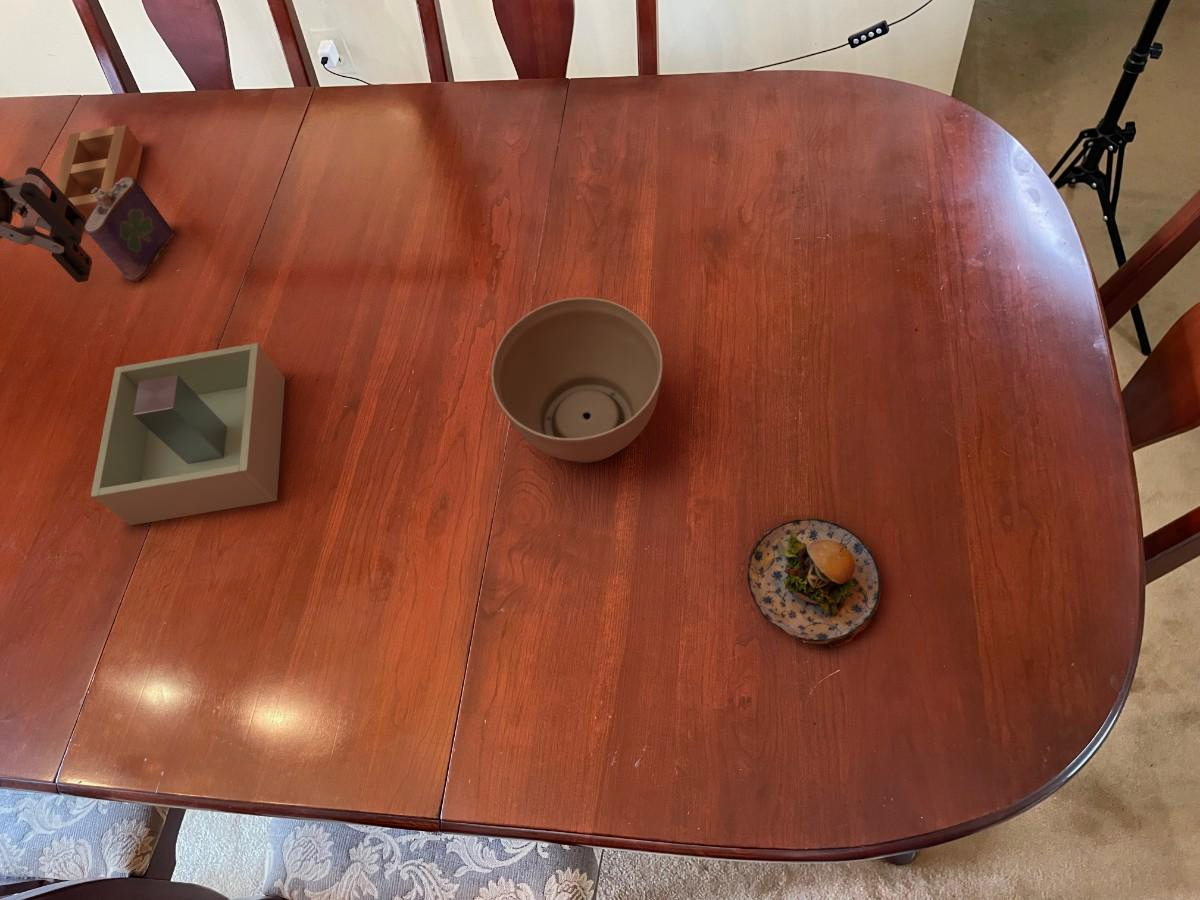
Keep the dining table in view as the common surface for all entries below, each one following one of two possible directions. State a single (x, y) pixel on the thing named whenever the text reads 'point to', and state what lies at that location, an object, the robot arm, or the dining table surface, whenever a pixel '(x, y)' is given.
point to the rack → (97, 164)
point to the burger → (815, 581)
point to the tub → (157, 474)
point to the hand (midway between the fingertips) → (37, 281)
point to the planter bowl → (578, 377)
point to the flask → (128, 228)
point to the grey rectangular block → (180, 419)
